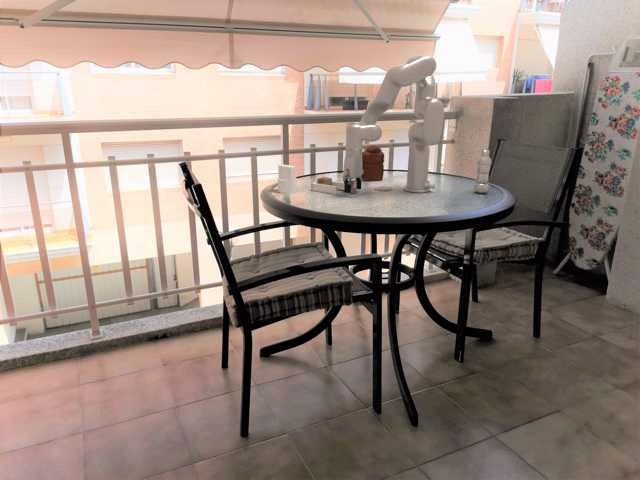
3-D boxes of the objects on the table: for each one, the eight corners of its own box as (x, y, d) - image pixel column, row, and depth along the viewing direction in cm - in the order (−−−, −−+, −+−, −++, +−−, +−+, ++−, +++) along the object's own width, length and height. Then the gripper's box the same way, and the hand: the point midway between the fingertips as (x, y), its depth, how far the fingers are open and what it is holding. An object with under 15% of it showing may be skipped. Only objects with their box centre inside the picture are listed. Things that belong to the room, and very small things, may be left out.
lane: (347, 190, 225) (347, 183, 224) (335, 194, 217) (336, 186, 216) (322, 186, 232) (323, 179, 231) (311, 190, 224) (311, 183, 223)
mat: (364, 192, 221) (364, 192, 221) (351, 197, 211) (351, 196, 211) (349, 190, 225) (349, 189, 225) (335, 195, 216) (335, 194, 216)
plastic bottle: (488, 192, 224) (493, 149, 217) (486, 195, 218) (492, 151, 212) (474, 190, 226) (479, 148, 220) (472, 193, 220) (477, 150, 214)
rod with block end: (358, 192, 219) (358, 180, 217) (353, 194, 215) (353, 182, 213) (322, 187, 229) (323, 175, 228) (317, 189, 225) (317, 177, 224)
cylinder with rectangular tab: (300, 191, 223) (300, 165, 219) (286, 194, 217) (286, 168, 213) (287, 188, 229) (287, 163, 225) (273, 191, 222) (273, 165, 219)
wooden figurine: (380, 178, 253) (381, 144, 247) (383, 181, 247) (385, 146, 241) (358, 179, 251) (359, 145, 245) (362, 181, 245) (363, 146, 239)
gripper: (356, 150, 220) (355, 186, 226) (336, 154, 207) (335, 193, 212) (370, 151, 216) (369, 188, 222) (351, 155, 203) (350, 195, 208)
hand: (352, 190), depth 217 cm, fingers open, 8 cm apart
